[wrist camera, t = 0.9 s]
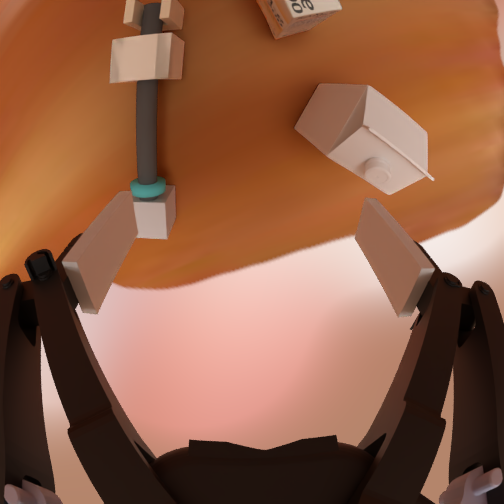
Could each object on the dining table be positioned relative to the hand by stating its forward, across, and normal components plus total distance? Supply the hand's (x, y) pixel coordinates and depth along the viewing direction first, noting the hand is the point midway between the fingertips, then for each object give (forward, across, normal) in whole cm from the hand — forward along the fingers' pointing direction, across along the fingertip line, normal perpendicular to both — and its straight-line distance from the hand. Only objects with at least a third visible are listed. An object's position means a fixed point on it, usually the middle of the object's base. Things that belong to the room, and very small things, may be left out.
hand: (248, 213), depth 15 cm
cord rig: (+22, -11, +3) cm, 25 cm away
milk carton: (+23, +11, +3) cm, 25 cm away
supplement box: (+23, +3, +18) cm, 29 cm away
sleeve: (+21, -11, +10) cm, 26 cm away
